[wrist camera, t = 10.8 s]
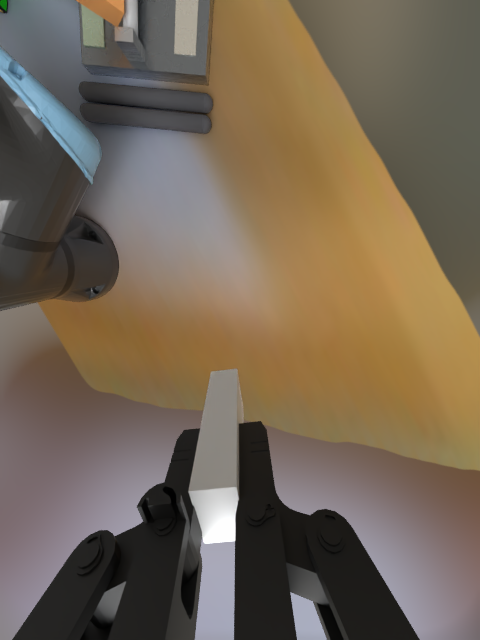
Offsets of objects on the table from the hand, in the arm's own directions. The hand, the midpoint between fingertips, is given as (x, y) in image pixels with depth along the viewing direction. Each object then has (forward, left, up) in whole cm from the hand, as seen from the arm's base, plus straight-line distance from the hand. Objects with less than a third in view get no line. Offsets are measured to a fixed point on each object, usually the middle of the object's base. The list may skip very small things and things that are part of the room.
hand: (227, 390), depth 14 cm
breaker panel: (-19, +38, -31) cm, 52 cm away
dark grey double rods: (-19, +27, -31) cm, 45 cm away
